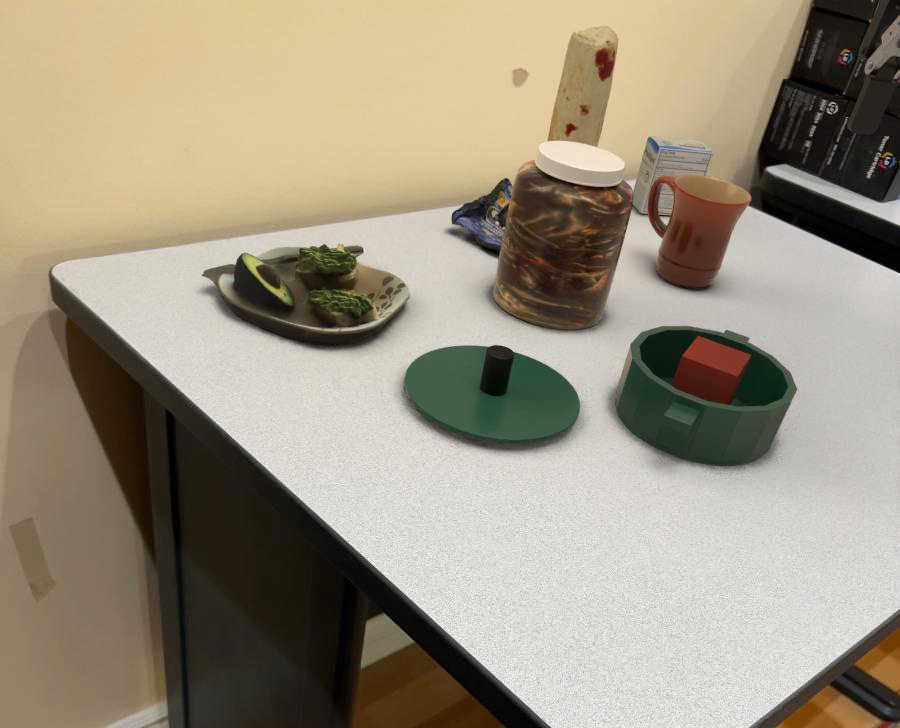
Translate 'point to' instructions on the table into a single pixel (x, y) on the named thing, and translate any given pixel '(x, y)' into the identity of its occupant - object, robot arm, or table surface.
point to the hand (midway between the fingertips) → (884, 150)
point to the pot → (701, 400)
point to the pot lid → (492, 394)
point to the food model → (584, 86)
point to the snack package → (486, 215)
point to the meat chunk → (711, 371)
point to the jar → (563, 236)
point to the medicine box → (668, 168)
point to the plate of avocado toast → (310, 293)
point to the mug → (695, 227)
